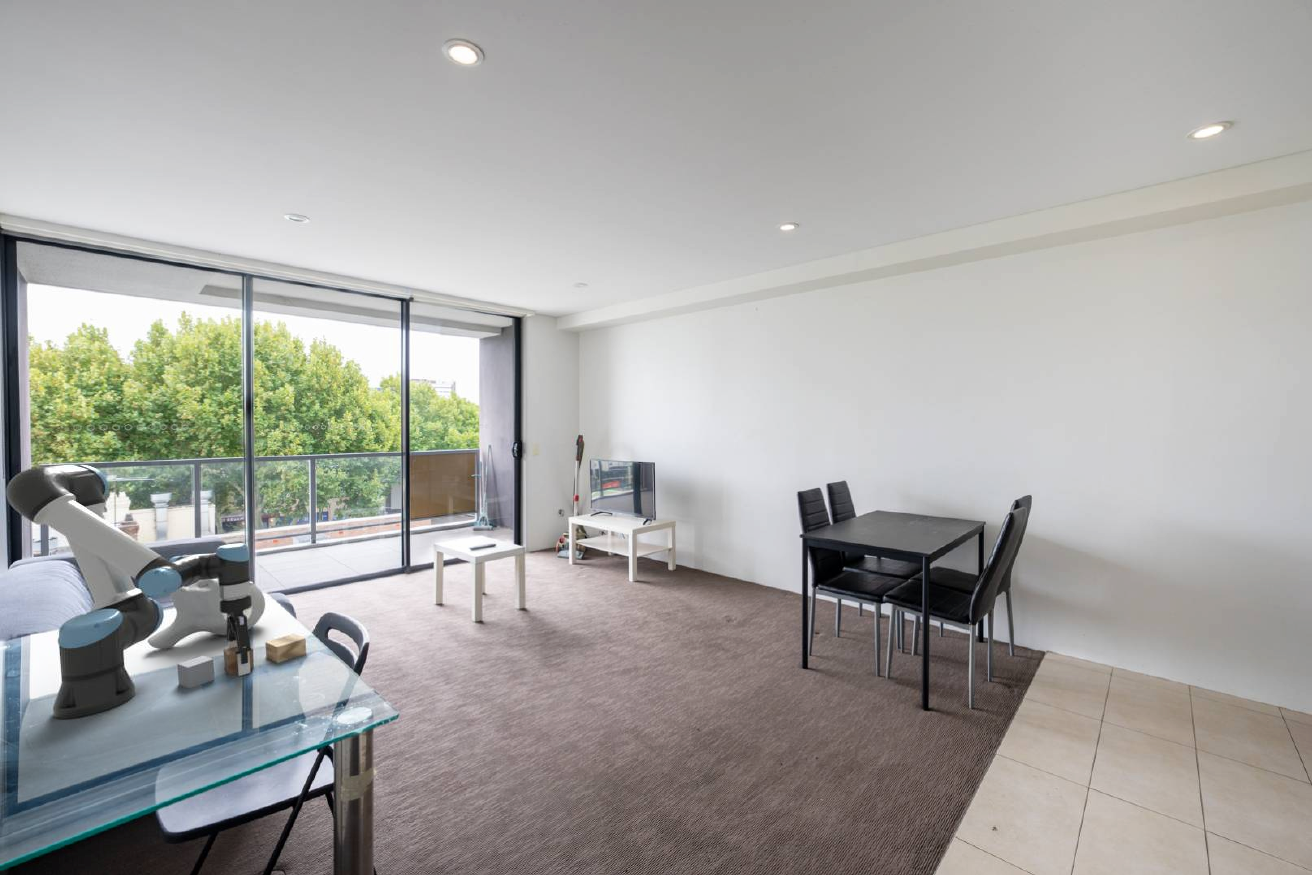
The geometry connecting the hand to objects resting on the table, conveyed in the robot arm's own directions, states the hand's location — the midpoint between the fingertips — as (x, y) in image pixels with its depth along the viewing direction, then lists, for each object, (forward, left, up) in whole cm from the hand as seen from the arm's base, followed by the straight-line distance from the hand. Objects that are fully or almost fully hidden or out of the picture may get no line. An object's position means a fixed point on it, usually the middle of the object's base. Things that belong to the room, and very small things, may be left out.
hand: (239, 667), depth 165 cm
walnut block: (0, 0, 0) cm, 0 cm away
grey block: (-10, -1, 0) cm, 10 cm away
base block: (+12, 0, 0) cm, 12 cm away
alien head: (-1, +40, 0) cm, 40 cm away
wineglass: (+3, +17, 0) cm, 17 cm away
